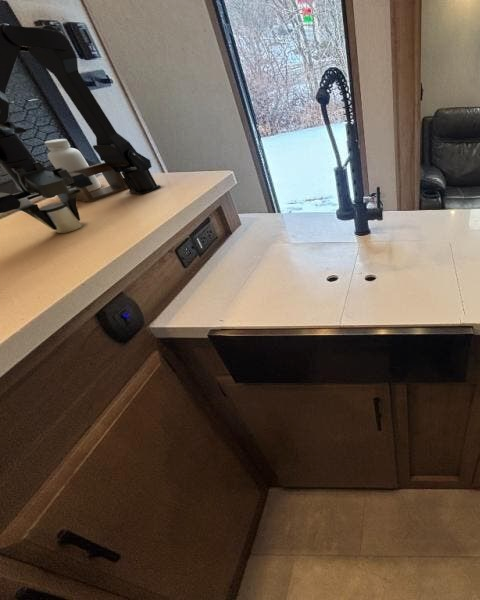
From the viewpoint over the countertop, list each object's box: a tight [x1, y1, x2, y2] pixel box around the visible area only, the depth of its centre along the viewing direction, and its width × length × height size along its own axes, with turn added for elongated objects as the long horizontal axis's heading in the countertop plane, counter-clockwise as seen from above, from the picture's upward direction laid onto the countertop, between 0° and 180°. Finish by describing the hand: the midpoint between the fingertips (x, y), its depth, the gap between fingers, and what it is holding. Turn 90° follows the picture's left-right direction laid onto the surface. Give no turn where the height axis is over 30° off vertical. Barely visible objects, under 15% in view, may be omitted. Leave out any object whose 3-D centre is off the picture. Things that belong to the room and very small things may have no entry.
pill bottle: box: [44, 138, 102, 193], centre depth 101 cm, size 8×8×15 cm
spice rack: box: [68, 161, 129, 203], centre depth 99 cm, size 8×12×9 cm, turn 157°
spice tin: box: [39, 201, 83, 234], centre depth 79 cm, size 5×5×6 cm
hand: (66, 225), depth 80 cm, fingers closed on spice tin, 5 cm apart
